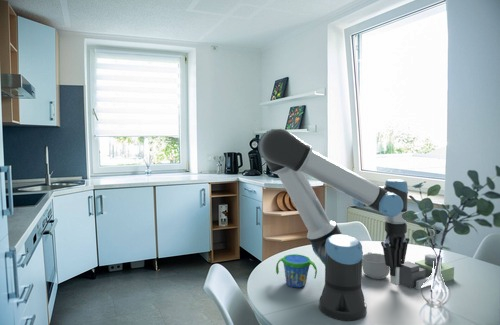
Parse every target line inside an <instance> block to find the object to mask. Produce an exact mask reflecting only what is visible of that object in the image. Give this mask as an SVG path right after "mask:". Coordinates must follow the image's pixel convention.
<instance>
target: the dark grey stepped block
mask: <svg viewBox="0 0 500 325" xmlns="http://www.w3.org/2000/svg"><path fill="white" fill-rule="evenodd" d="M401 265H403V267H402V268H401V267H400V274H399V285H402V286H403V287H406V288H408V289H411V290H412V289H416V281H417V280H421V279H424V278H425V269H423V268H420V267H419V265H417V264H415V262H411V261H409V260H408V261H405V262H404V264H401Z"/></svg>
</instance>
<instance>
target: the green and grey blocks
mask: <svg viewBox="0 0 500 325" xmlns="http://www.w3.org/2000/svg"><path fill="white" fill-rule="evenodd" d="M435 255H436V254H430V253H429V254H425V255H424V259H421V260H419V261H415V262H414V264H417V265H419V267H420V268H423V269H425V278H424V279H421V280H417V281H416V288H415V289H416V290H419V291H420V290H422V289H421V286H422V285H423V283H425V282H426V281H427V280H428V278H429V276H430V275H431V273H432V268H433V261H434V269H435V266H436V256H435ZM442 259H443V258H442V257H441V274H442V277H443V279H444V281H445V282H444V283H446V282H450V281H453V280H454V279H455V266H453V265H449V264H446V263H443V262H442Z"/></svg>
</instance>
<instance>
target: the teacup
mask: <svg viewBox="0 0 500 325" xmlns="http://www.w3.org/2000/svg"><path fill="white" fill-rule="evenodd" d="M362 273H363V274H364V275H366V276H367V277H369V279H373V280H382V279H385V278H386V277H387V276H388V275H390V267H389V266H387V265H386V264H385V257H384V253H383V254H381V253H373V252H371V251H369V252H367V253H366V254H363V257H362Z"/></svg>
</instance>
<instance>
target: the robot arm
mask: <svg viewBox="0 0 500 325" xmlns="http://www.w3.org/2000/svg"><path fill="white" fill-rule="evenodd" d="M257 144H258V146H257V149H258V152H259V155H260V156H261V158H262V159H263V160H264V161H265V163H266V164H267V167H268V168H269V170H270V172H271V173H273V174H275V175H277V176H278V178H279V179H280V181H281V183H282V185H283V187H284V189H285V191H286V193H287V194H288V196H289V198H290V200H291V202H292V203H293V205H294V207H295V209H296V210H297V213H298V214H299V216H300V218H301V220H302V222H303V224H304V226H305V227H306V229H307V230H308V231H307V235H306V237H307V239H308V241H309V243H310V245H311V247H312V251H313V252H314V254H315V256H316V257H318V259H319V260H320V261H321V262H322V264H323V265H324V273H325V274H324V275H325V276H324V287H323V289H322V293H321V295H320V297H319V300H318V301H319V302H318V305H319V306H318V307H319V308H318V309H320V311H321V312H322V313H323V314H324V315H326V316H328V317H330V318H333V319H335V320H341V321H356V320H360V319H363V318H364V317H365V316H367V310H368V309H367V306H368V305H367V302H366V300H365V296H364V295H365V294H364V292H363V289H362V288H363V287H362V281H363V279H362V277H363V275H362V274H363V267H362V257H363V255H364V253H363V245H362V243H361V241H359V239H357V238H356V237H354V236H350V235H347V234H342V232H341V230H340V228H339V227H338V224H337V223H336V221H334V220H330V218H329V217H328V215H327V212H326V211H325V209H324V207H323V206H322V203H321V201H320V200H319V197H318V196H317V195H316V192H315V190H314V189H313V187H312V185H311V183H310V181H309V179H308V178H307V176H306V175H308V176H310V177H312V178H314V179H315V180H318V181H320V182H322V183H323V184H325V185H327V186H329V187H331V188H333V189H334V190H336V191H338V192H341V193H342V194H345V195H346V196H348V197H350V198H352V203H353V205H354V206H355V207H357V208H359V207H360V208H366V207H367V208H370V209H372V210H373V211H376V212H377V213H380V214H381V215H383V216H384V220H385V221H384V231H385V233H386V237H385V240H384V241H381V242H380V245H381V247H382V249H383V255H384V257H385V264H386V265H387V266H389V267H390V271H389V276H390V281H389V282H390V284H392V285H394V286H399V285H400V284H399V274H400V267H401V268H402V267H403V265H401V264H404V262H406V255H407V250H408V245H409V242H410V238H408V237H406V235H405V234H407V232H408V224H407V221H406V220H404V219H403V218H402V214H403V213H405V212H407V213H408V194H409V191H408V190H409V189H408V182H407V181H406V180H404V179H396V178H395V179H393V178H391V179H390V178H389V179H386V180H385V183H384V185H378V184H376V183H374V182H373V181H370V180H368V179H367V178H365V177H363V176H361V175H360V174H358V173H356V172H354V171H352V170H350V169H348V168H346V167H344V166H343V165H341V164H339V163H337V162H336V161H334V160H331V159H329V158H328V157H326V156H324V155H322V154H320V153H319V152H317V151H314V150H313V149H312V145H310V144H309V143H307V142H305V141H304V140H302V139H300V138H299V137H298V136H296V135H294V134H293V133H291V132H290V131H288V130H286V129H282V128H275V129H274V128H272V129H270V130H267V131H266V132H264V133H263V134H261V137H260V138H259V140H258V143H257Z"/></svg>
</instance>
